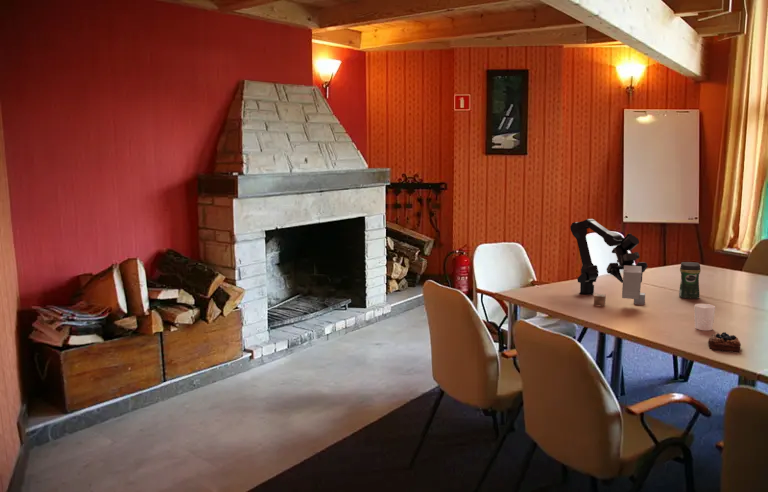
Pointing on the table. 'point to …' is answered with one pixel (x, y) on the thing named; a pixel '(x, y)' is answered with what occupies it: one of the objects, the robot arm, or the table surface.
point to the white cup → (704, 316)
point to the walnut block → (599, 299)
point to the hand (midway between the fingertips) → (631, 282)
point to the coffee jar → (689, 280)
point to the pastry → (724, 343)
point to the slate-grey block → (641, 300)
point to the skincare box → (631, 282)
